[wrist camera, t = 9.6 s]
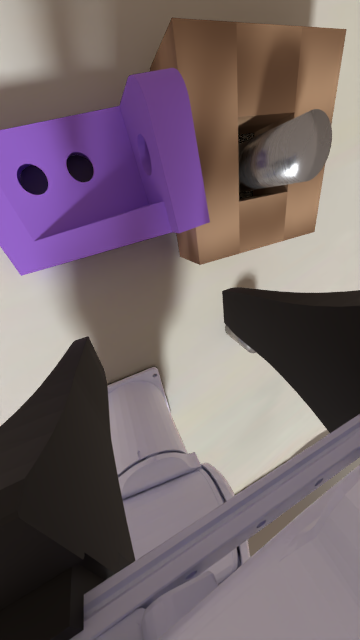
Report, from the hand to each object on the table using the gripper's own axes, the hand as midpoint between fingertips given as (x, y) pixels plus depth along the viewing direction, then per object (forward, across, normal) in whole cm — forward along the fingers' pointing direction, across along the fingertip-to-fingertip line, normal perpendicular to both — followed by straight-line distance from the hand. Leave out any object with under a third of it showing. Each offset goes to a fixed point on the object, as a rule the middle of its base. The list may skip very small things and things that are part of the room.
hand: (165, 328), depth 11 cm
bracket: (+10, +2, -7) cm, 12 cm away
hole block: (+9, -11, -7) cm, 16 cm away
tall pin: (+9, -11, -7) cm, 16 cm away
